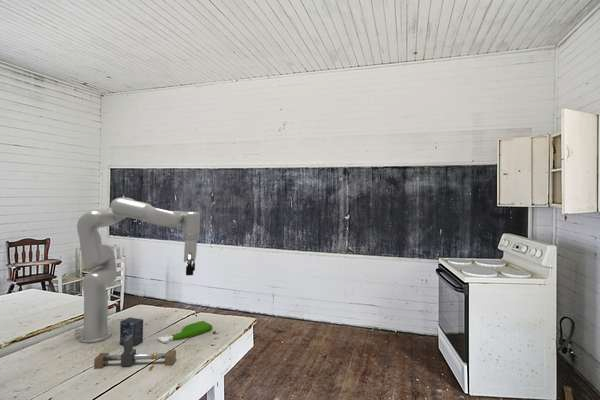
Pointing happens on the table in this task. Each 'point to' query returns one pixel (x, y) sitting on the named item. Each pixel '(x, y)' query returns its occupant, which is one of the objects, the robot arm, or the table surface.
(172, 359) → the rod with tan block
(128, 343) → the collar
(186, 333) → the spray bottle
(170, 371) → the table surface
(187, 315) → the table surface
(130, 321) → the box
